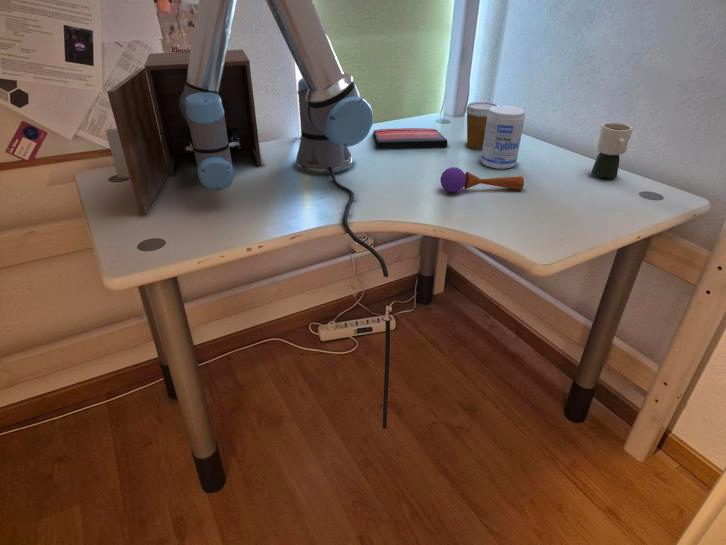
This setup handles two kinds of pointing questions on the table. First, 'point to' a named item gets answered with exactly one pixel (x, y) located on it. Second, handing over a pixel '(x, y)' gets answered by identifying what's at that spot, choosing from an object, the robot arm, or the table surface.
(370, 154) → the table surface
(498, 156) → the supplement tub
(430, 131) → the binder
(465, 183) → the kendama
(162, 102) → the cupboard
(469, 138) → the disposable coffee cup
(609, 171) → the character mug
